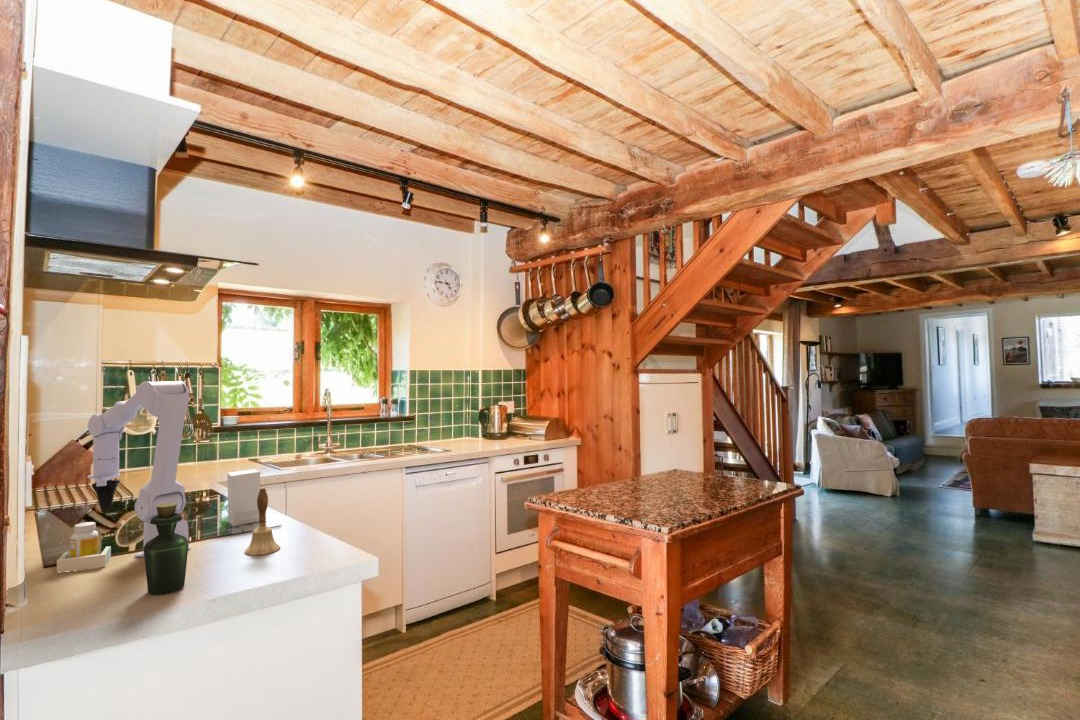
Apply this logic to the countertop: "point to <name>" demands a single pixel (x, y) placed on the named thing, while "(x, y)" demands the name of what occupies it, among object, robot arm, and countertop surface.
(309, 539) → the countertop surface
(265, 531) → the hand bell
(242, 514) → the skincare box
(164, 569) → the potion bottle
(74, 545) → the supplement bottle
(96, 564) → the tray
